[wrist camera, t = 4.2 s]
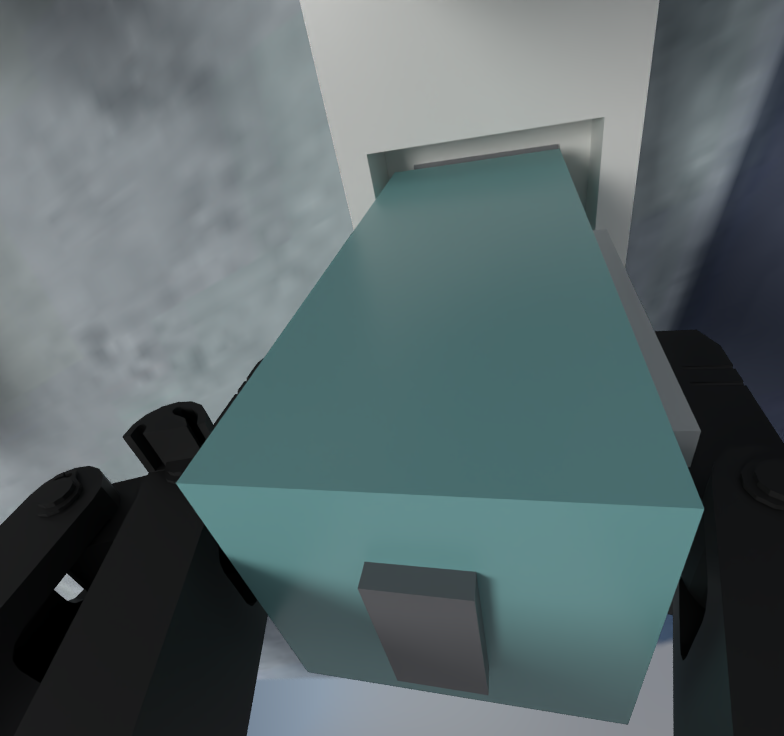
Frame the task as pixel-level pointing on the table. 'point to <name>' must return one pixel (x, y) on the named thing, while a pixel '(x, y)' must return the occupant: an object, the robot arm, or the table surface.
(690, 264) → the table surface
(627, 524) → the block
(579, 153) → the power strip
